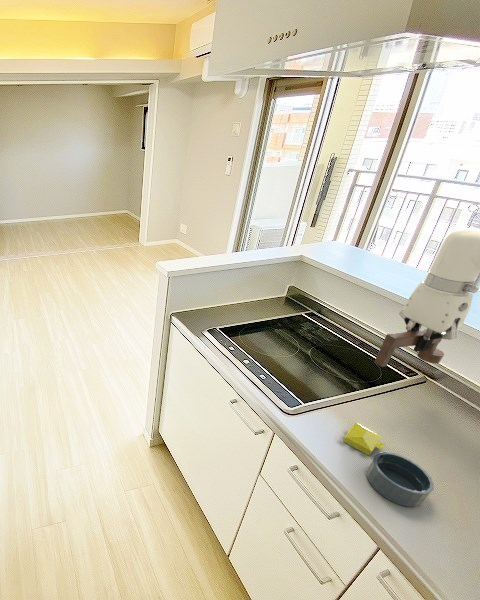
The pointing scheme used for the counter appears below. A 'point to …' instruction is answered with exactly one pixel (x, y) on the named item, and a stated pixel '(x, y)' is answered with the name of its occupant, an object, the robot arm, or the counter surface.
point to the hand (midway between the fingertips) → (414, 346)
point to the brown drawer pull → (403, 341)
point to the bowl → (399, 479)
